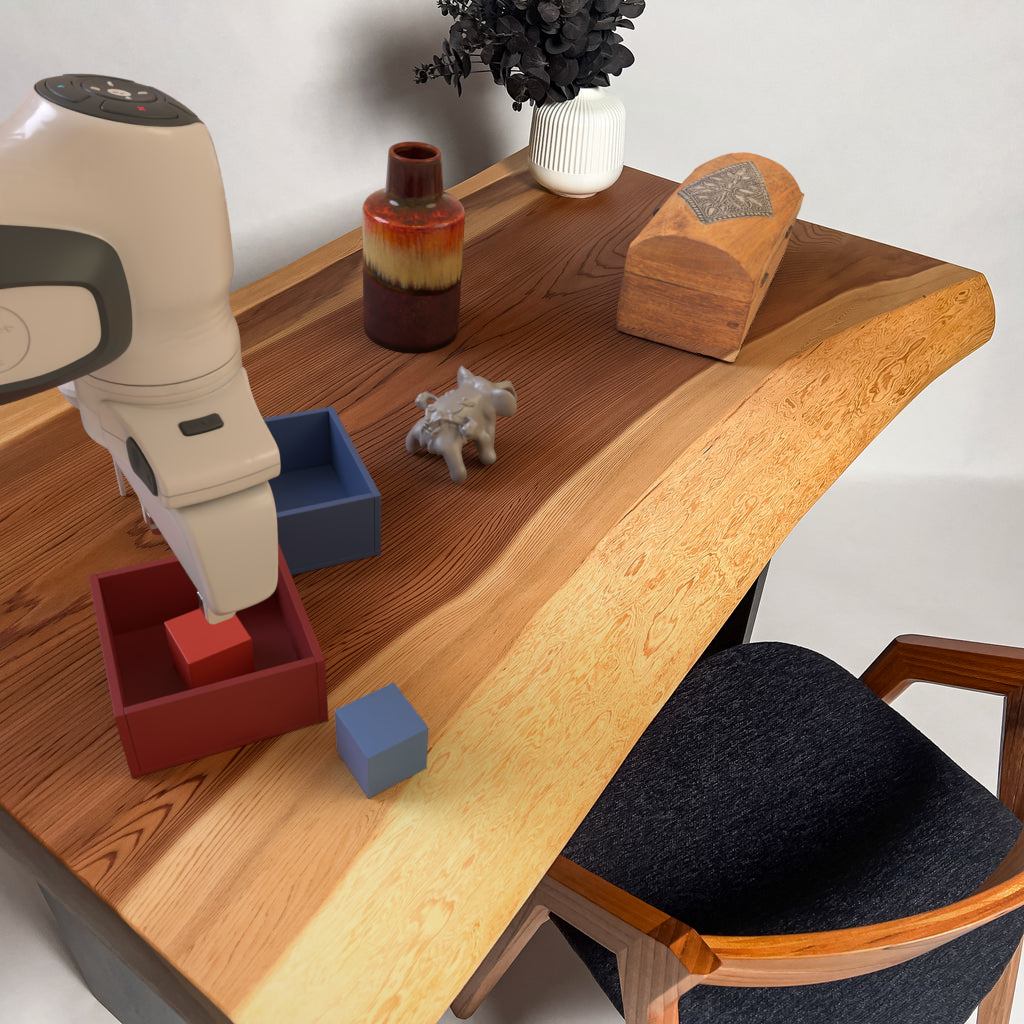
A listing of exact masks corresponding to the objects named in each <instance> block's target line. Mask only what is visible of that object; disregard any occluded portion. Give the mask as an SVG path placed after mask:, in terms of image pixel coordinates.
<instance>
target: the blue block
mask: <svg viewBox="0 0 1024 1024" xmlns="http://www.w3.org/2000/svg"><path fill="white" fill-rule="evenodd" d="M334 723H335V725H334V727H335V745H336V746H335V747H336V749H335V750H336V752H337V754H338V756H339V757H340V758H341V759H342V761H343V763H344V764H345V765H346V768H347V769H348V770H349V772H350V773H351V775H352V776H353V778H354V779H355V781H356V783H357V784H358V785H359V787H360V788H361V790H362V791H363V793H364V794H365V796H366V797H367V798H368V799H371V798H373V797H375V796H377V795H379V794H381V793H383V792H385V791H387V790H389V789H390V788H392V787H394V786H396V785H398V784H399V783H402V782H403V781H405V780H407V779H409V778H411V777H412V776H415V775H416V774H418V773H420V772H422V771H424V770H426V769H427V768H428V767H427V766H428V749H429V730H430V728H429V726H428V725H427V723H426V722H425V720H424V719H423V718H422V717H421V716H420V714H419V713H418V712H417V710H416V709H415V708H414V706H413V705H412V704H411V702H410V701H409V700H408V699H407V697H406V696H405V694H404V693H403V691H402V690H401V689H400V688H399V687H398V686H397V684H396V683H395V682H391V683H389V684H387V685H385V686H382V687H380V688H378V689H376V690H374V691H372V692H370V693H368V694H366V695H363V696H361V697H359V698H357V699H354V700H353V701H350V702H349V703H346V704H344V705H342V706H340V707H337V708H336V709H334Z"/></svg>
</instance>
